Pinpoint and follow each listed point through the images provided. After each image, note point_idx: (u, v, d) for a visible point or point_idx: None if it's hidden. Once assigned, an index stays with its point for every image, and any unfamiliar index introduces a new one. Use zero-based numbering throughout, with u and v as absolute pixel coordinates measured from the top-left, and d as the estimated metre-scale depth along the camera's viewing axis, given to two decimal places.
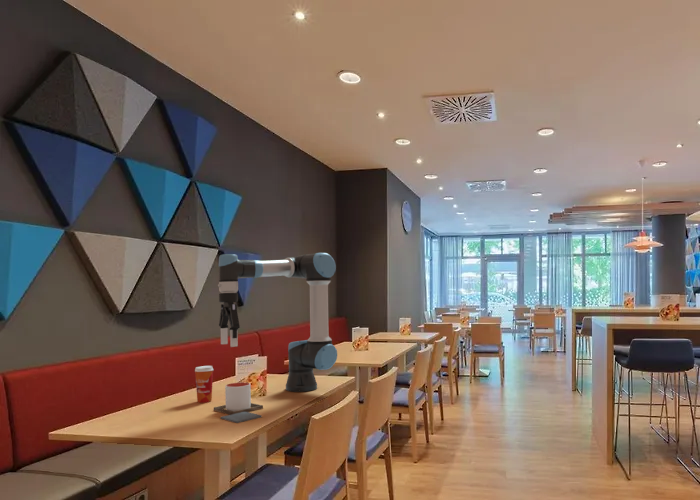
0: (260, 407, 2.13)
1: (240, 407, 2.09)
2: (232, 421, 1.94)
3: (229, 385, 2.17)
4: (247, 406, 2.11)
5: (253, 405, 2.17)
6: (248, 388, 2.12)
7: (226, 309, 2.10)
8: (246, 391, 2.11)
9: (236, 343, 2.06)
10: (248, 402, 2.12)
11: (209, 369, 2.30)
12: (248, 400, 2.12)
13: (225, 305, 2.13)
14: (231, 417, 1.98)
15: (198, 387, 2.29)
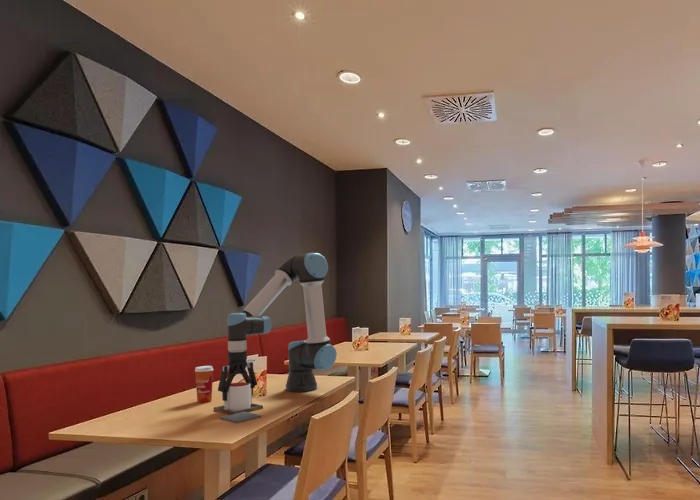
0: (260, 407, 2.13)
1: (240, 407, 2.09)
2: (232, 421, 1.94)
3: None
4: (247, 406, 2.11)
5: (253, 405, 2.17)
6: (248, 388, 2.12)
7: None
8: (246, 391, 2.11)
9: (227, 406, 2.09)
10: (248, 402, 2.12)
11: (209, 369, 2.30)
12: (248, 400, 2.12)
13: None
14: (231, 417, 1.98)
15: (198, 387, 2.29)
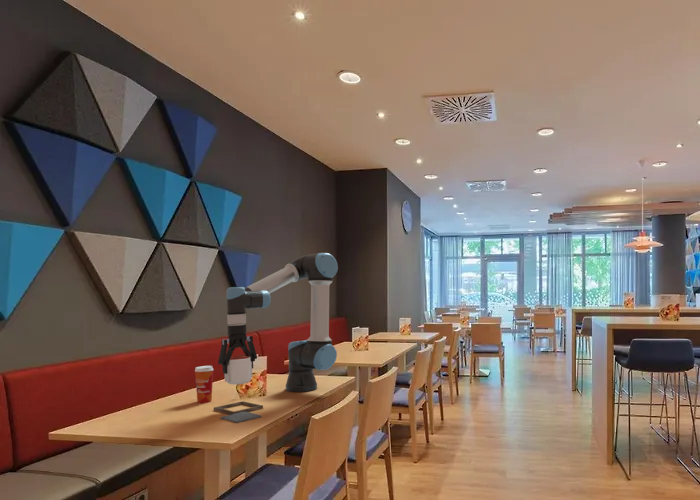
0: (260, 407, 2.13)
1: (240, 380, 2.10)
2: (232, 421, 1.94)
3: None
4: (247, 379, 2.12)
5: (253, 405, 2.17)
6: (248, 361, 2.13)
7: None
8: (246, 364, 2.12)
9: (227, 378, 2.10)
10: (248, 375, 2.13)
11: (209, 369, 2.30)
12: (248, 373, 2.13)
13: None
14: (231, 417, 1.98)
15: (198, 387, 2.29)
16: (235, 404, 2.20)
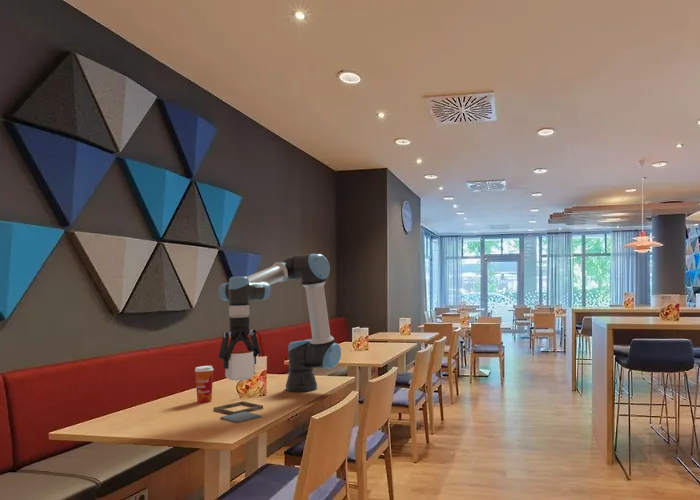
0: (260, 407, 2.13)
1: (242, 376, 1.96)
2: (232, 421, 1.94)
3: None
4: (250, 375, 1.98)
5: (253, 405, 2.17)
6: (250, 356, 1.99)
7: None
8: (248, 359, 1.98)
9: (228, 374, 1.96)
10: (251, 370, 1.99)
11: (209, 369, 2.30)
12: (251, 368, 1.99)
13: None
14: (231, 417, 1.98)
15: (198, 387, 2.29)
16: (235, 404, 2.20)
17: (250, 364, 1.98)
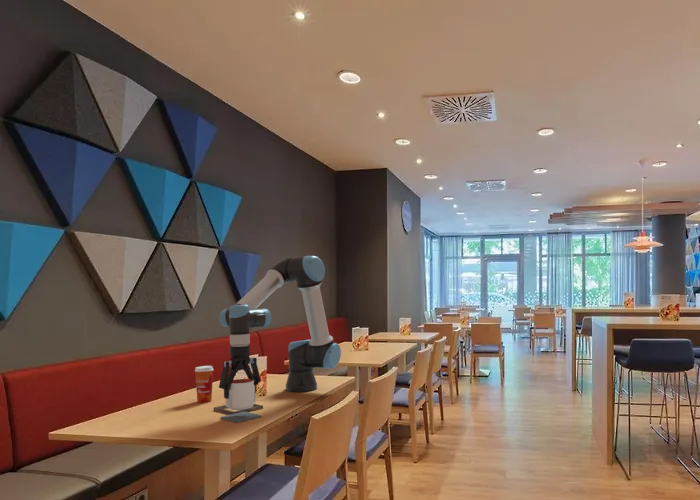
0: (260, 407, 2.13)
1: (242, 405, 1.95)
2: (232, 421, 1.94)
3: None
4: (250, 404, 1.97)
5: (253, 405, 2.17)
6: (251, 385, 1.98)
7: None
8: (249, 389, 1.97)
9: (229, 404, 1.95)
10: (251, 400, 1.98)
11: (209, 369, 2.30)
12: (251, 398, 1.98)
13: None
14: (231, 417, 1.98)
15: (198, 387, 2.29)
16: None
17: (251, 393, 1.98)
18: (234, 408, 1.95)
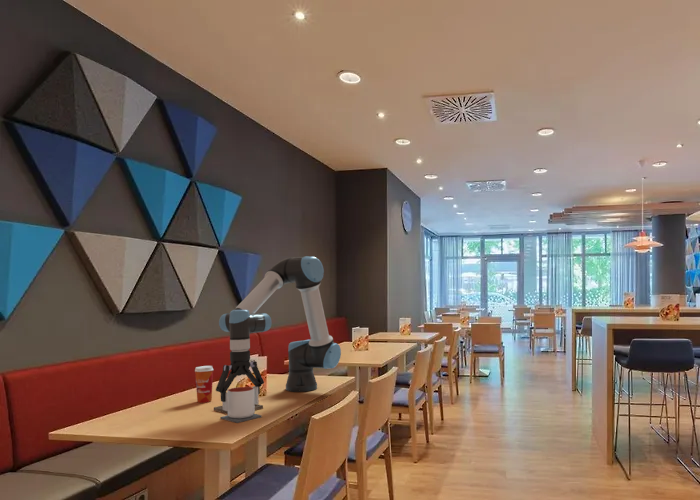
0: (260, 407, 2.13)
1: (243, 414, 1.95)
2: (232, 421, 1.94)
3: (231, 390, 2.02)
4: (251, 412, 1.97)
5: None
6: (251, 394, 1.98)
7: None
8: (249, 397, 1.97)
9: (225, 407, 1.94)
10: (252, 408, 1.98)
11: (209, 369, 2.30)
12: (252, 406, 1.98)
13: None
14: None
15: (198, 387, 2.29)
16: None
17: (251, 402, 1.97)
18: (234, 416, 1.95)
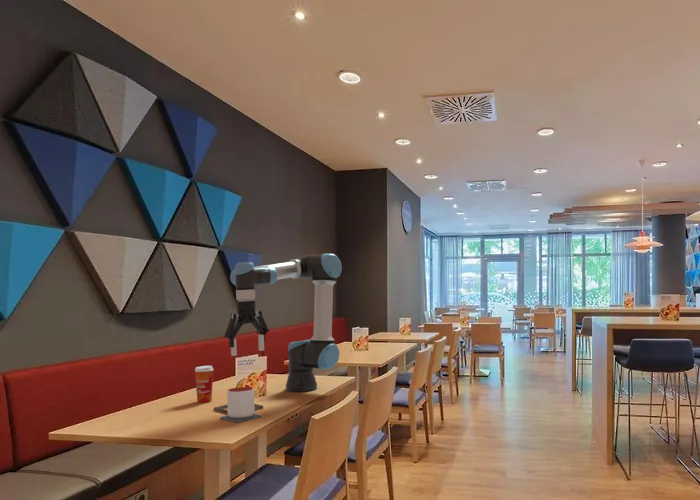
0: (260, 407, 2.13)
1: (243, 414, 1.95)
2: (232, 421, 1.94)
3: (231, 390, 2.02)
4: (251, 412, 1.97)
5: None
6: (251, 394, 1.98)
7: None
8: (249, 397, 1.97)
9: (234, 352, 2.07)
10: (252, 408, 1.98)
11: (209, 369, 2.30)
12: (252, 406, 1.98)
13: None
14: None
15: (198, 387, 2.29)
16: None
17: (251, 402, 1.97)
18: (234, 416, 1.95)
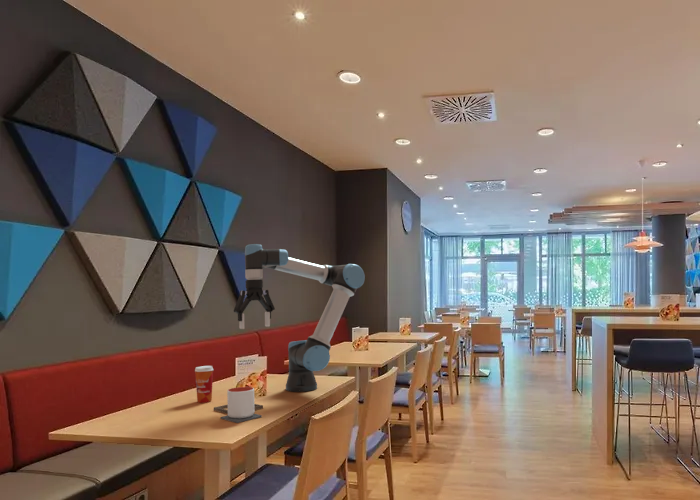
0: (260, 407, 2.13)
1: (243, 414, 1.95)
2: (232, 421, 1.94)
3: (231, 390, 2.02)
4: (251, 412, 1.97)
5: None
6: (251, 394, 1.98)
7: None
8: (249, 397, 1.97)
9: (242, 326, 2.25)
10: (252, 408, 1.98)
11: (209, 369, 2.30)
12: (252, 406, 1.98)
13: None
14: None
15: (198, 387, 2.29)
16: None
17: (251, 402, 1.97)
18: (234, 416, 1.95)
